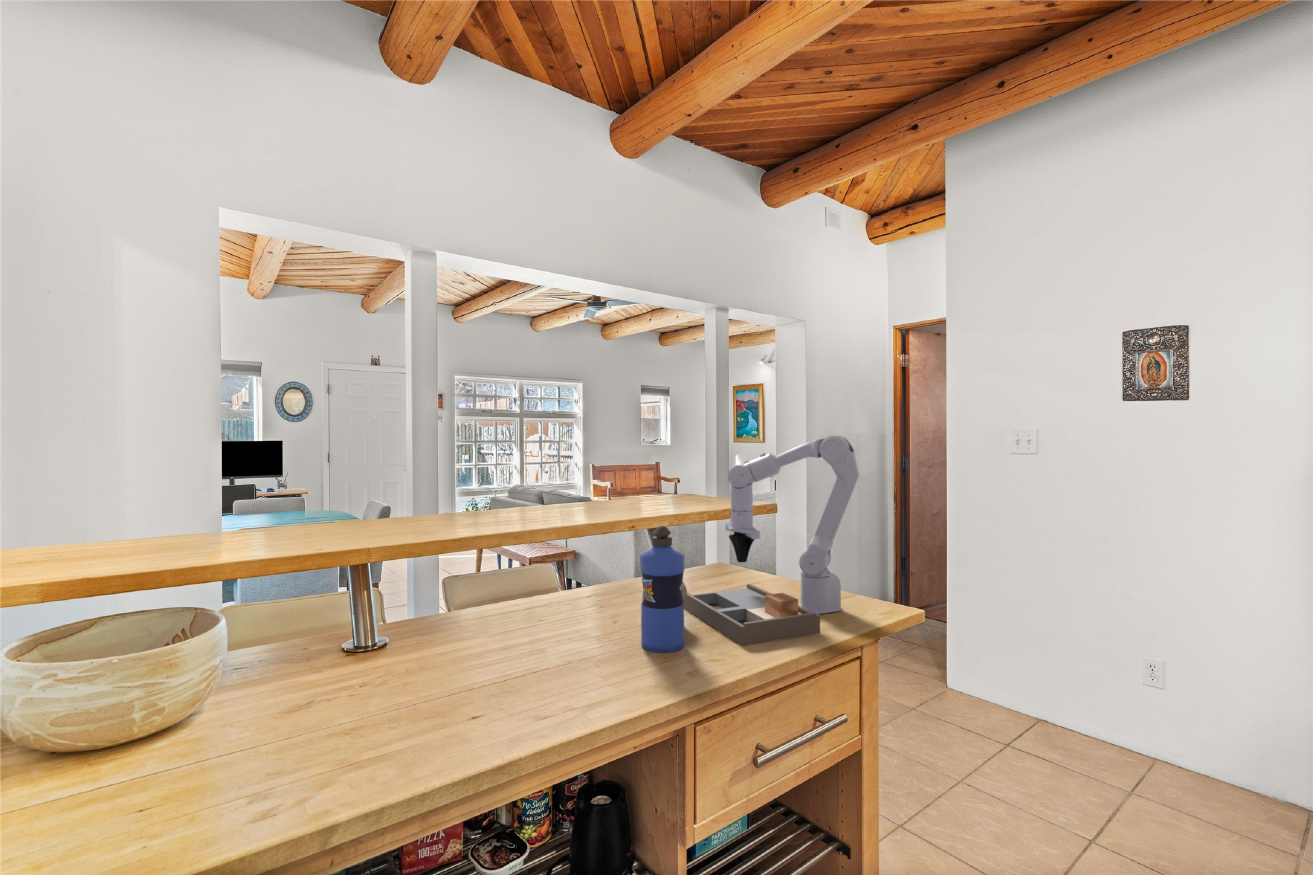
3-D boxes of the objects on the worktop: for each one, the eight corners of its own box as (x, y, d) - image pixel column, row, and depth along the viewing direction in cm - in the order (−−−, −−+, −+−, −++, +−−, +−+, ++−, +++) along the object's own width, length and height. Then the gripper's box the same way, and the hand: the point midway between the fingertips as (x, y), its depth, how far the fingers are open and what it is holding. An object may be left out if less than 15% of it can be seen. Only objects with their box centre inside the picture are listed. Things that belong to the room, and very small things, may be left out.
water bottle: (650, 655, 122) (649, 531, 121) (634, 641, 130) (633, 525, 130) (692, 649, 125) (691, 528, 125) (674, 635, 134) (673, 522, 133)
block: (783, 609, 142) (783, 592, 142) (798, 616, 136) (798, 599, 136) (764, 612, 140) (764, 595, 140) (779, 619, 135) (779, 601, 134)
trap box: (750, 598, 162) (749, 581, 162) (820, 633, 134) (820, 613, 134) (682, 607, 155) (682, 589, 154) (741, 645, 127) (741, 624, 127)
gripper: (715, 508, 165) (715, 557, 165) (742, 514, 151) (742, 568, 152) (738, 506, 168) (738, 555, 168) (766, 513, 154) (766, 566, 154)
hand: (741, 561), depth 160 cm, fingers closed
